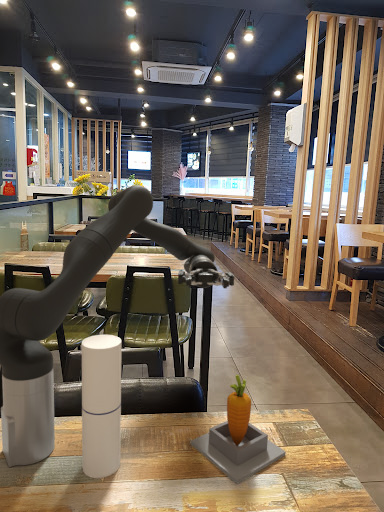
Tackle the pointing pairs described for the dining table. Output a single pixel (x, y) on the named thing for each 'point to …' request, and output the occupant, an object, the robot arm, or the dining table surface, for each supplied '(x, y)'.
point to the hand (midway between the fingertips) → (207, 283)
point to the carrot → (238, 411)
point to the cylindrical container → (101, 405)
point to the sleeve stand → (238, 451)
